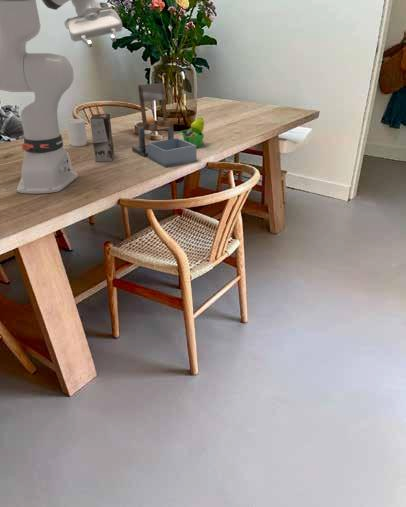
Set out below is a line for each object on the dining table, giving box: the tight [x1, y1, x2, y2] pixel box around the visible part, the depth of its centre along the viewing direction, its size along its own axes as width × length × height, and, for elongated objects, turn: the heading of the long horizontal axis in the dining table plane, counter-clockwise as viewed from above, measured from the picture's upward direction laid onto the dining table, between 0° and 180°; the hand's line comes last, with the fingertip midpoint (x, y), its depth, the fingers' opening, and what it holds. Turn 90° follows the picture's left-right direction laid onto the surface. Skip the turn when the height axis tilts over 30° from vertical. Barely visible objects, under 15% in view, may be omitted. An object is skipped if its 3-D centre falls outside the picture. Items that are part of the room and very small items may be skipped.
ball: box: [146, 116, 155, 124], centre depth 171 cm, size 4×4×4 cm
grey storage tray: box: [146, 137, 198, 168], centre depth 163 cm, size 14×14×6 cm
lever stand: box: [131, 126, 175, 158], centre depth 172 cm, size 11×15×11 cm
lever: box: [137, 82, 174, 132], centre depth 165 cm, size 15×10×17 cm
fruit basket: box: [181, 116, 205, 148], centre depth 180 cm, size 11×9×11 cm
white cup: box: [65, 118, 88, 147], centre depth 182 cm, size 8×8×10 cm
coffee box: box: [89, 113, 115, 163], centre depth 162 cm, size 9×6×16 cm
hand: (102, 43), depth 161 cm, fingers open, 8 cm apart
